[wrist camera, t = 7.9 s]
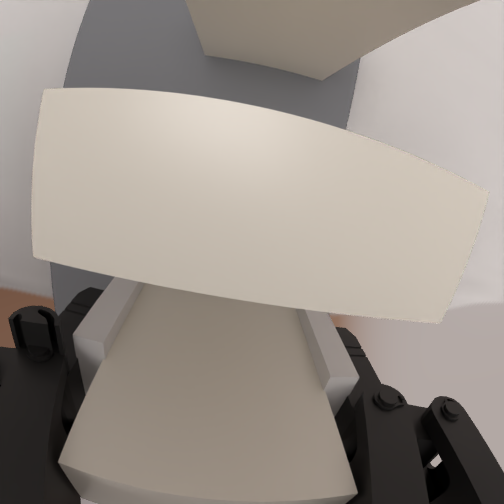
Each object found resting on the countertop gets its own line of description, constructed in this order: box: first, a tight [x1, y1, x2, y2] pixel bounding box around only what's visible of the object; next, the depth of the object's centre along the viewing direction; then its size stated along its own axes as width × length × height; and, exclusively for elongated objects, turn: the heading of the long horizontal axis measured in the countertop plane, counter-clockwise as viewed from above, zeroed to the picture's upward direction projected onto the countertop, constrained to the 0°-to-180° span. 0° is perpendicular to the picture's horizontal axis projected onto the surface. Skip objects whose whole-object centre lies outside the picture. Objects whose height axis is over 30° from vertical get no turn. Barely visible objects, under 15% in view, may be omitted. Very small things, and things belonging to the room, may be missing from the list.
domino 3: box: [58, 283, 358, 504], centre depth 8 cm, size 5×2×10 cm, turn 78°
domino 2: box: [31, 88, 489, 323], centre depth 7 cm, size 5×2×10 cm, turn 78°
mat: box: [50, 0, 360, 316], centre depth 11 cm, size 13×34×1 cm, turn 168°
